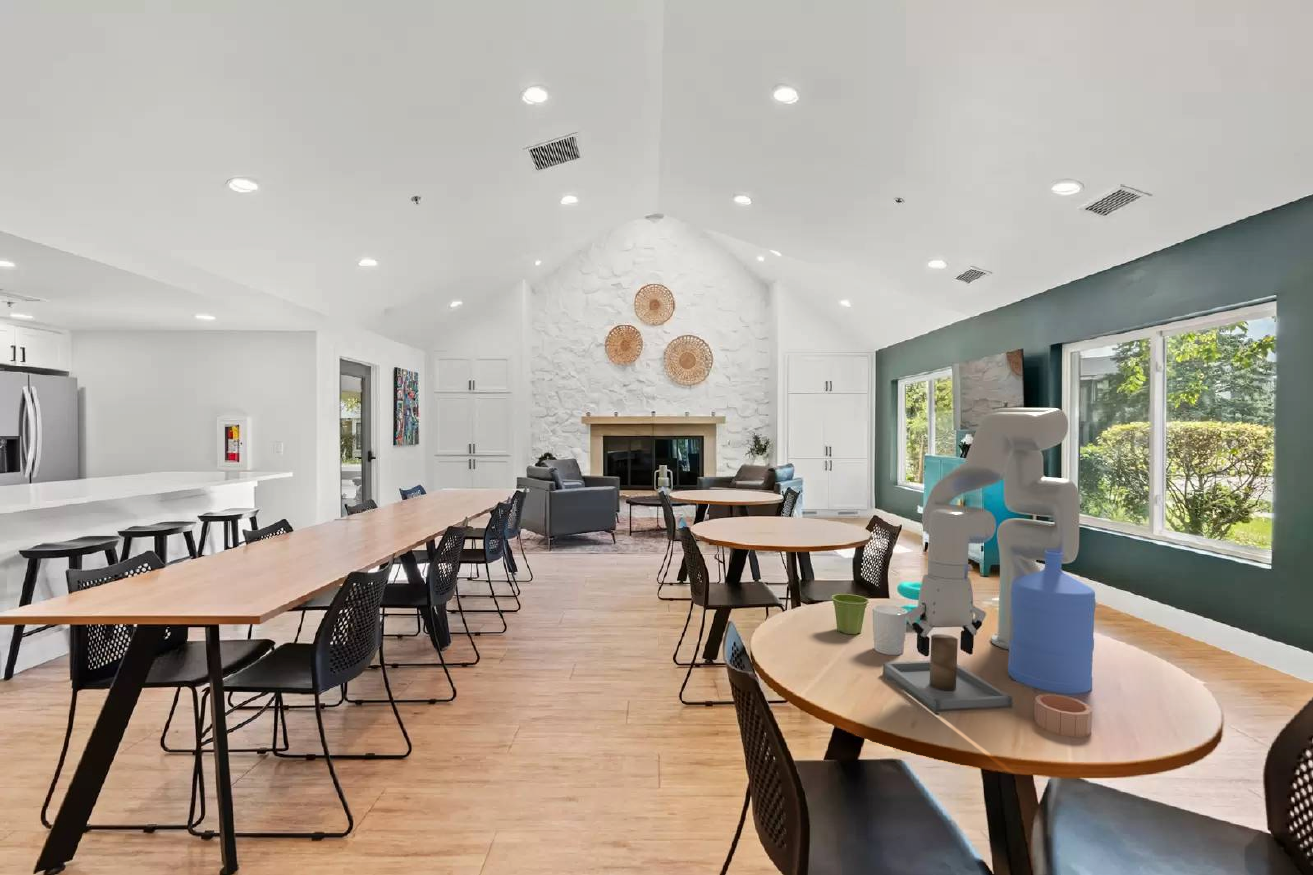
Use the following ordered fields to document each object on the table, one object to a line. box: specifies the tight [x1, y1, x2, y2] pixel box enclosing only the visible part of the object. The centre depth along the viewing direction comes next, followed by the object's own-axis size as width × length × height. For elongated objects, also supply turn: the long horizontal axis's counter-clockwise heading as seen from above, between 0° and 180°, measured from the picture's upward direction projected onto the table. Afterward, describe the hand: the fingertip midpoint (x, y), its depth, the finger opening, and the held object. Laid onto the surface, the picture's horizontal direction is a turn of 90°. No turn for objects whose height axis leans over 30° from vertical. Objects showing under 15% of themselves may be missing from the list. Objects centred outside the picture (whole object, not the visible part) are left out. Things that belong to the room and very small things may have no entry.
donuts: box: [896, 581, 922, 624], centre depth 186 cm, size 10×10×10 cm
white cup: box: [872, 604, 908, 656], centre depth 161 cm, size 8×8×10 cm
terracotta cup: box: [1033, 693, 1093, 738], centre depth 121 cm, size 9×9×4 cm
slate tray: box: [882, 660, 1013, 715], centre depth 137 cm, size 16×20×2 cm
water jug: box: [1007, 551, 1097, 695], centre depth 143 cm, size 16×16×28 cm
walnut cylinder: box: [929, 633, 959, 691], centre depth 137 cm, size 5×5×10 cm
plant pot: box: [830, 593, 870, 635], centre depth 175 cm, size 9×9×9 cm
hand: (944, 653), depth 137 cm, fingers open, 9 cm apart
